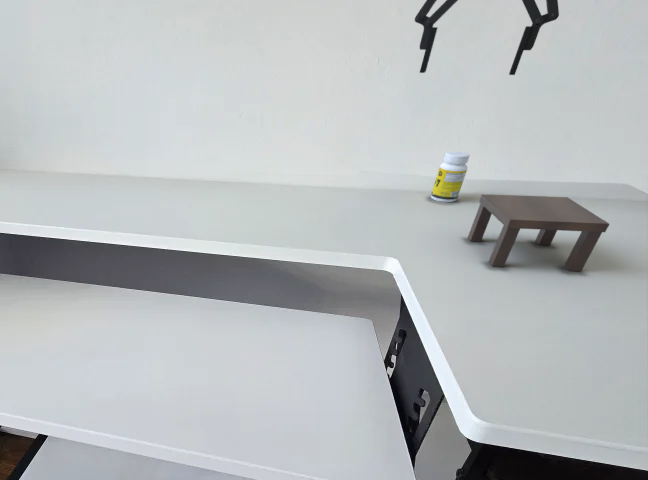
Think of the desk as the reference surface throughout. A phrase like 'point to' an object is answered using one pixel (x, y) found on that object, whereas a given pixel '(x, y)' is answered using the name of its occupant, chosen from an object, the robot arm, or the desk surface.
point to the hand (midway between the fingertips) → (465, 73)
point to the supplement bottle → (450, 177)
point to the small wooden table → (537, 224)
